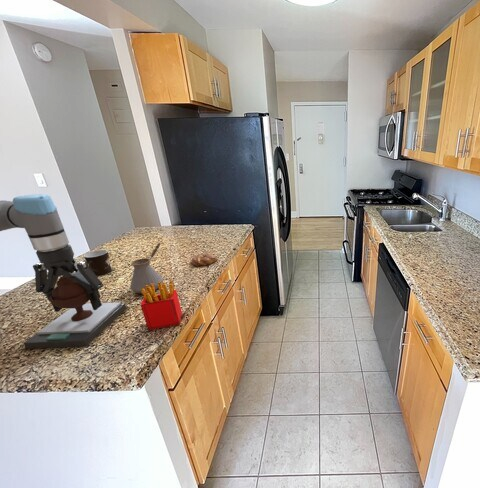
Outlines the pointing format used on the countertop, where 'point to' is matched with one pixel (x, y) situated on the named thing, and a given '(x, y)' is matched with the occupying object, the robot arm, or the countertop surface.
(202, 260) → the pretzel
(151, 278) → the coffee pot
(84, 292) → the ice cream bowl
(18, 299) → the countertop surface
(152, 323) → the french fries container
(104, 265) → the coffee mug
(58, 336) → the scale
